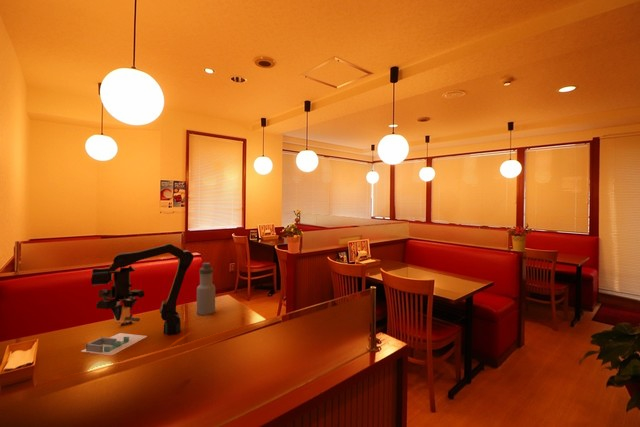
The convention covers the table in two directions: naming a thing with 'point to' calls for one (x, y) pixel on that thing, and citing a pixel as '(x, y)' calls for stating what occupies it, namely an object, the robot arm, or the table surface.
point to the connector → (126, 316)
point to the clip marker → (123, 341)
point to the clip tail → (108, 348)
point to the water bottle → (206, 291)
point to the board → (120, 337)
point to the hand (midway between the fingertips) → (122, 318)
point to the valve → (127, 321)
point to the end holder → (99, 344)
